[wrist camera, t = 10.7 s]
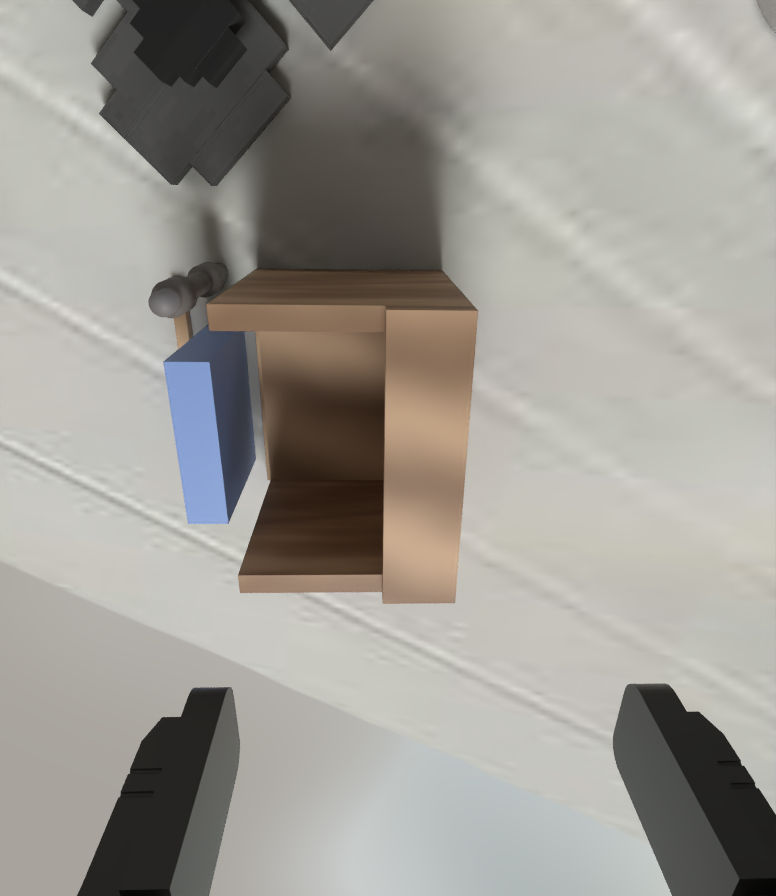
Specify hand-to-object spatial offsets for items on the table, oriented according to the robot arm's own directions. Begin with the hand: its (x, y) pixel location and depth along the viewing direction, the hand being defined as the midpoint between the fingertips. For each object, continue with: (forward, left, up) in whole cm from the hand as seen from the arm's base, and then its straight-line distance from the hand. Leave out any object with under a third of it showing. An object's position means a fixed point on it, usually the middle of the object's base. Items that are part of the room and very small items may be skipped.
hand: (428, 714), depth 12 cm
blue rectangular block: (+4, -11, -30) cm, 32 cm away
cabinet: (+3, -5, -30) cm, 31 cm away
